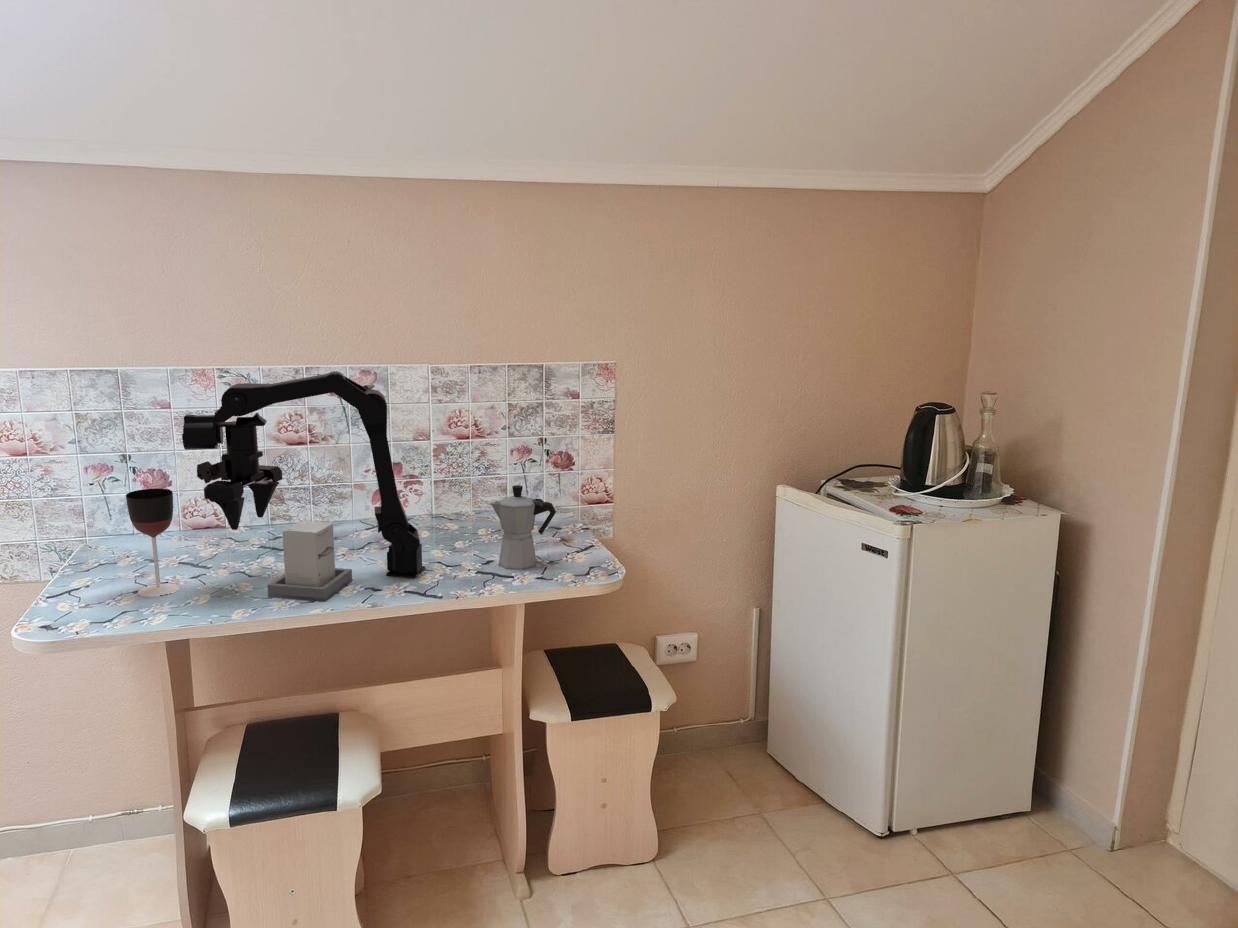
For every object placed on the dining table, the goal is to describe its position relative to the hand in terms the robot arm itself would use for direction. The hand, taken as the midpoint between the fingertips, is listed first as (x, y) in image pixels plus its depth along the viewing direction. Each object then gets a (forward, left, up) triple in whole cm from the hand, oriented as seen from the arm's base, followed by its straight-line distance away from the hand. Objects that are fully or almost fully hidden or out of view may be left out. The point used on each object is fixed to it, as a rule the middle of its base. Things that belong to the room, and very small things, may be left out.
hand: (247, 523), depth 175 cm
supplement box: (-13, 0, -13) cm, 18 cm away
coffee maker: (-51, -24, -13) cm, 58 cm away
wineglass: (+16, +7, -13) cm, 22 cm away
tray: (-13, 0, -13) cm, 18 cm away
